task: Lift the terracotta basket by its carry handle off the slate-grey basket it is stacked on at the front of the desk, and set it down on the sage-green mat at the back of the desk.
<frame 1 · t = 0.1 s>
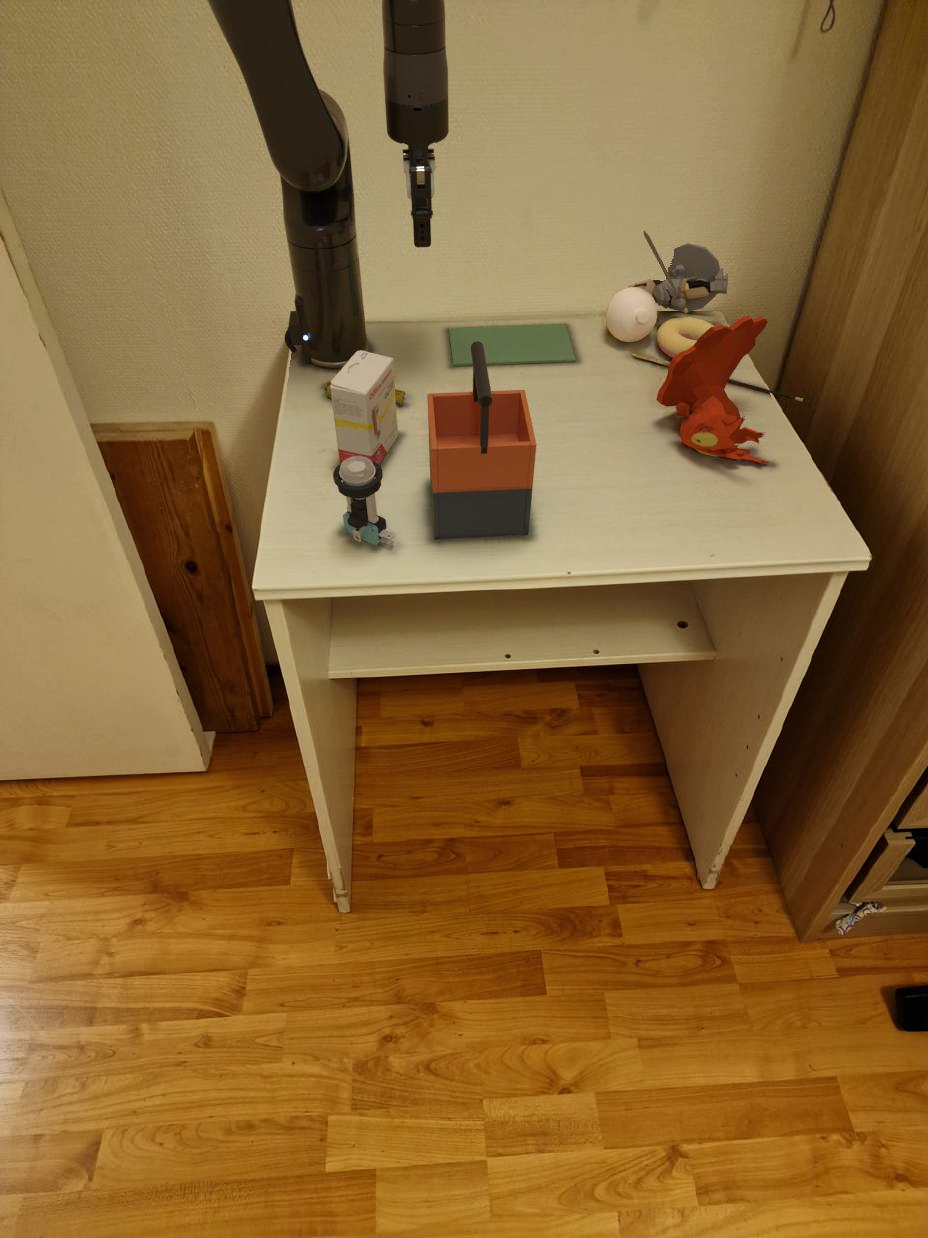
hand: (421, 231, 107), 17 cm above the table, tool pointing down, fingers open, 8 cm apart
mat: (510, 345, 120), on the table
toy: (705, 360, 104), point 8 cm above the table
key: (363, 398, 111), on the table
donut: (666, 353, 117), point 1 cm above the table, touching toy 2
ink box: (370, 452, 104), on the table
push button: (369, 537, 93), on the table
spinning top: (613, 311, 125), point 1 cm above the table
toy 2: (722, 261, 115), point 11 cm above the table, touching donut
bottom basket: (477, 508, 96), on the table, touching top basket
brush: (630, 353, 118), on the table
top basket: (479, 462, 91), point 7 cm above the table, touching bottom basket
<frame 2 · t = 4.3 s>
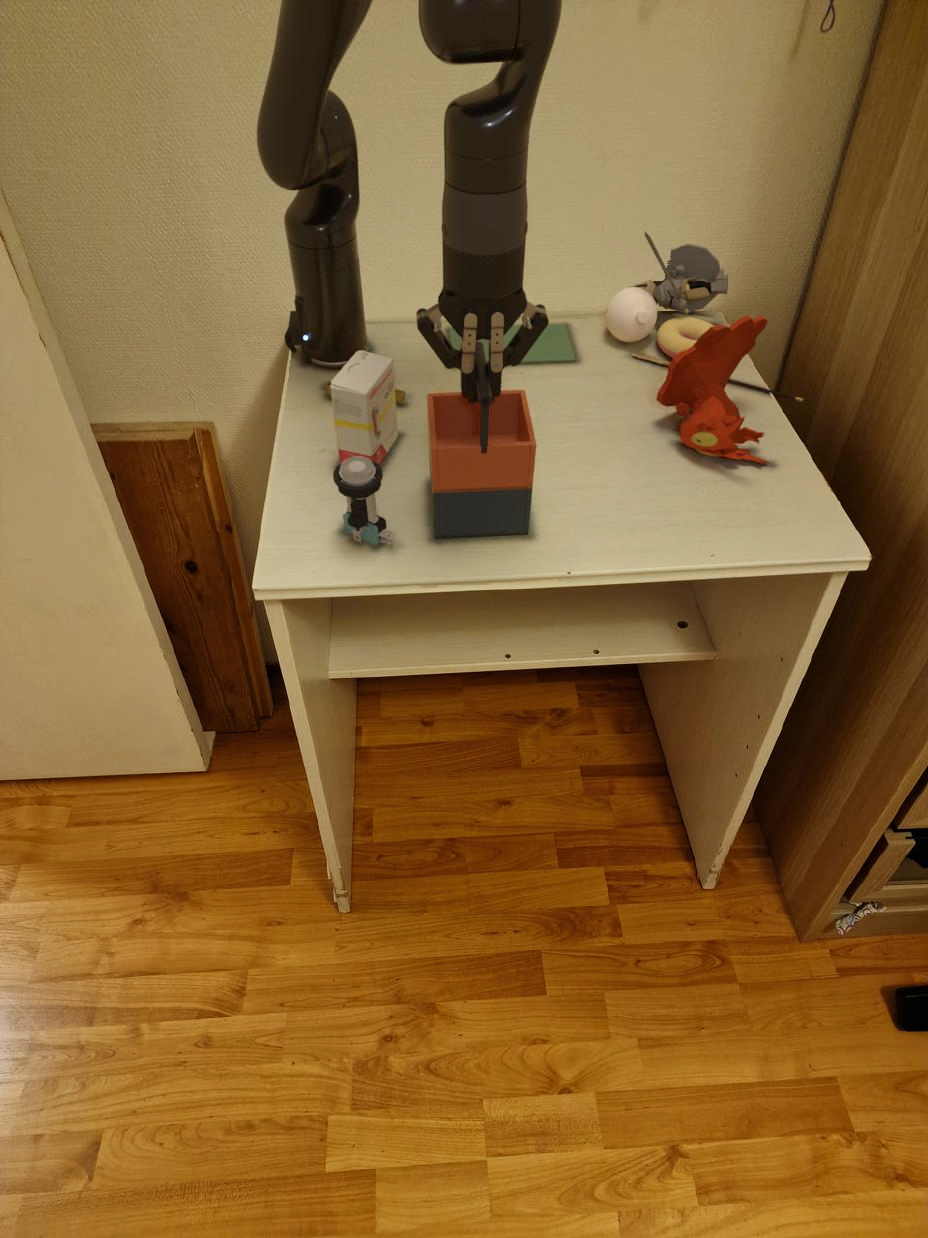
hand: (480, 397, 85), 16 cm above the table, tool pointing down, fingers closed on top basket
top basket: (478, 462, 91), point 7 cm above the table, touching bottom basket, gripper
everything else where it was.
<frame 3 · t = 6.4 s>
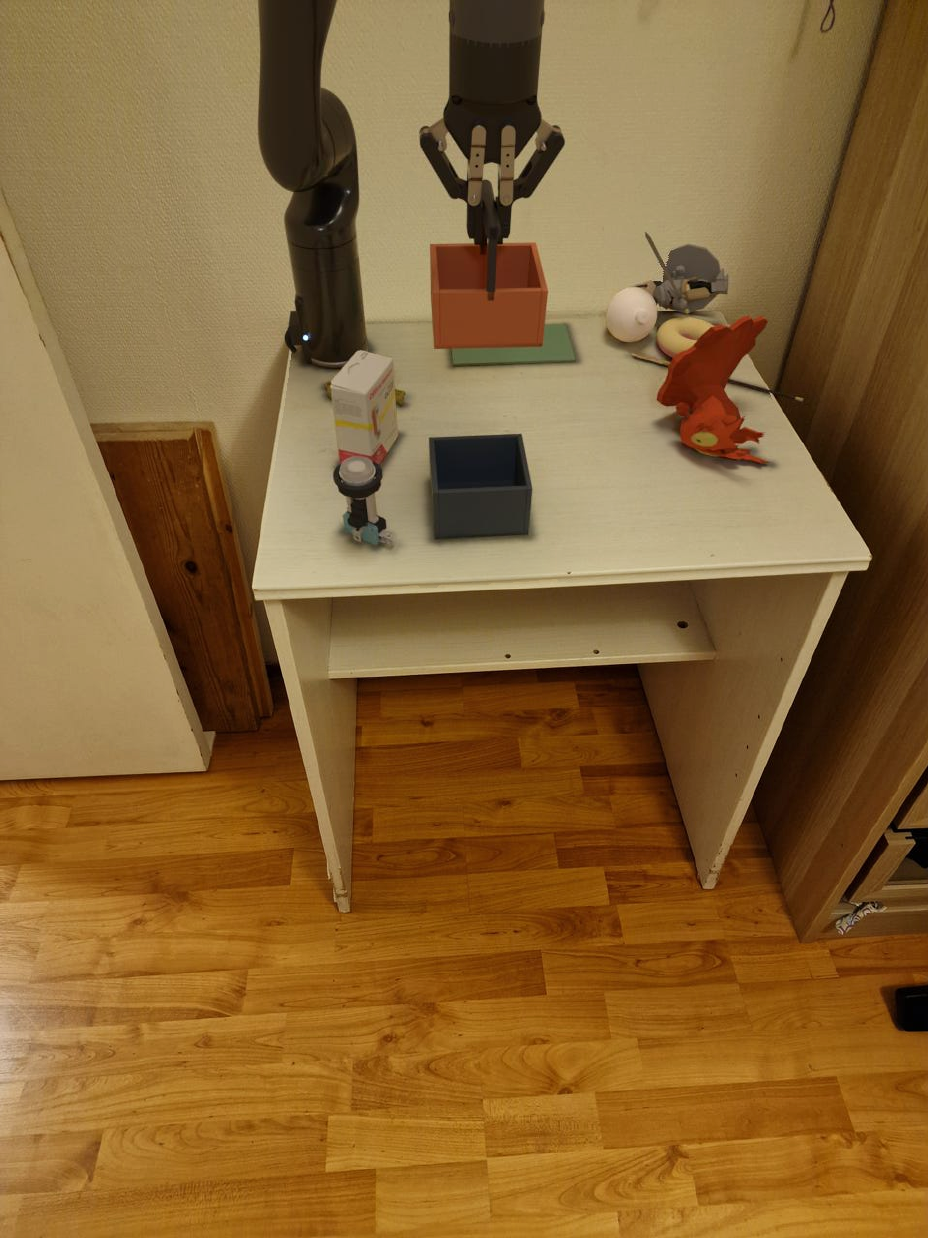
hand: (487, 240, 78), 30 cm above the table, tool pointing down, fingers closed on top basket
bottom basket: (477, 508, 96), on the table
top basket: (484, 322, 84), point 21 cm above the table, touching gripper
everything else where it was.
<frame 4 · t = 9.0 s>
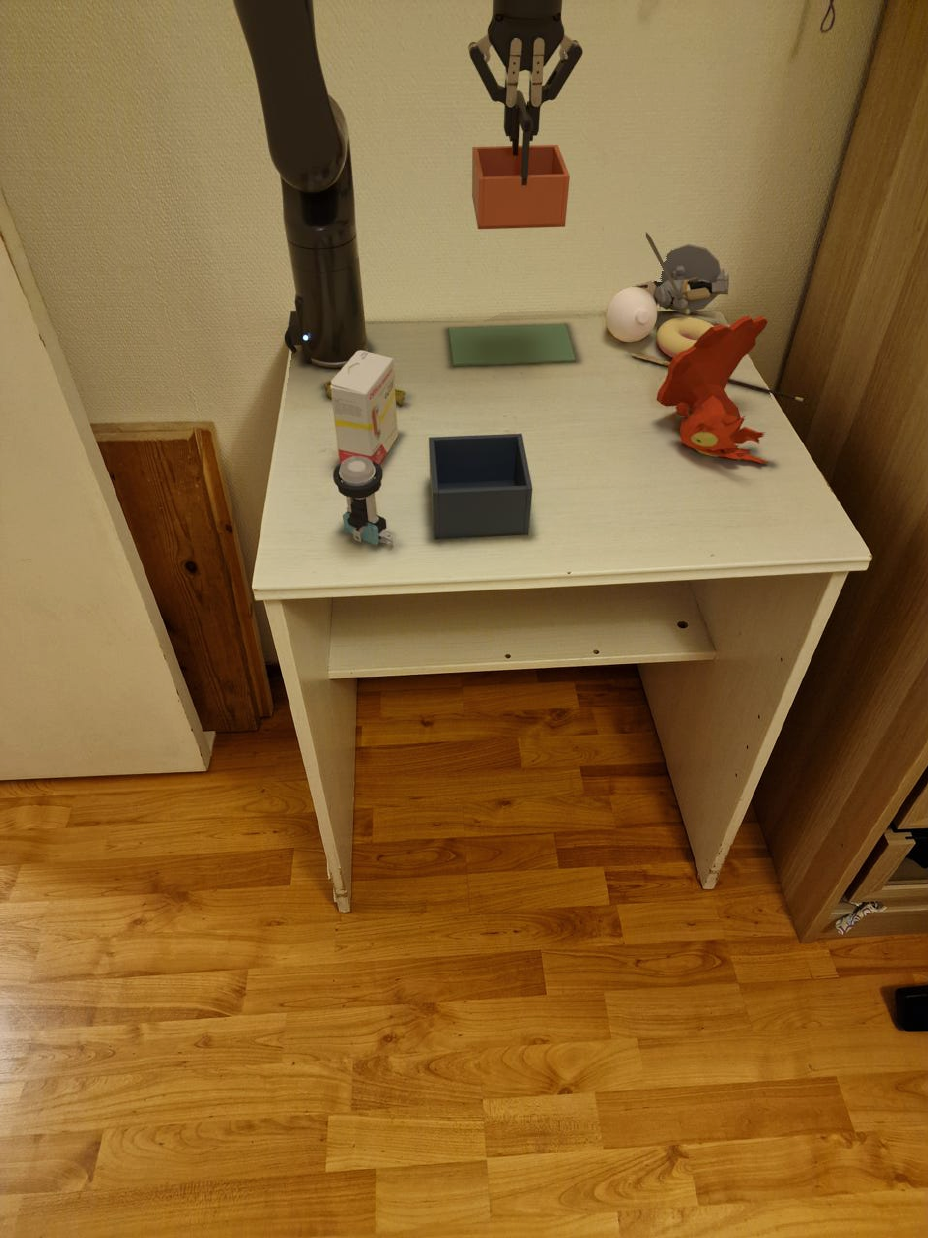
hand: (520, 138, 97), 29 cm above the table, tool pointing down, fingers closed on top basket
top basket: (517, 210, 104), point 20 cm above the table, touching gripper
everything else where it was.
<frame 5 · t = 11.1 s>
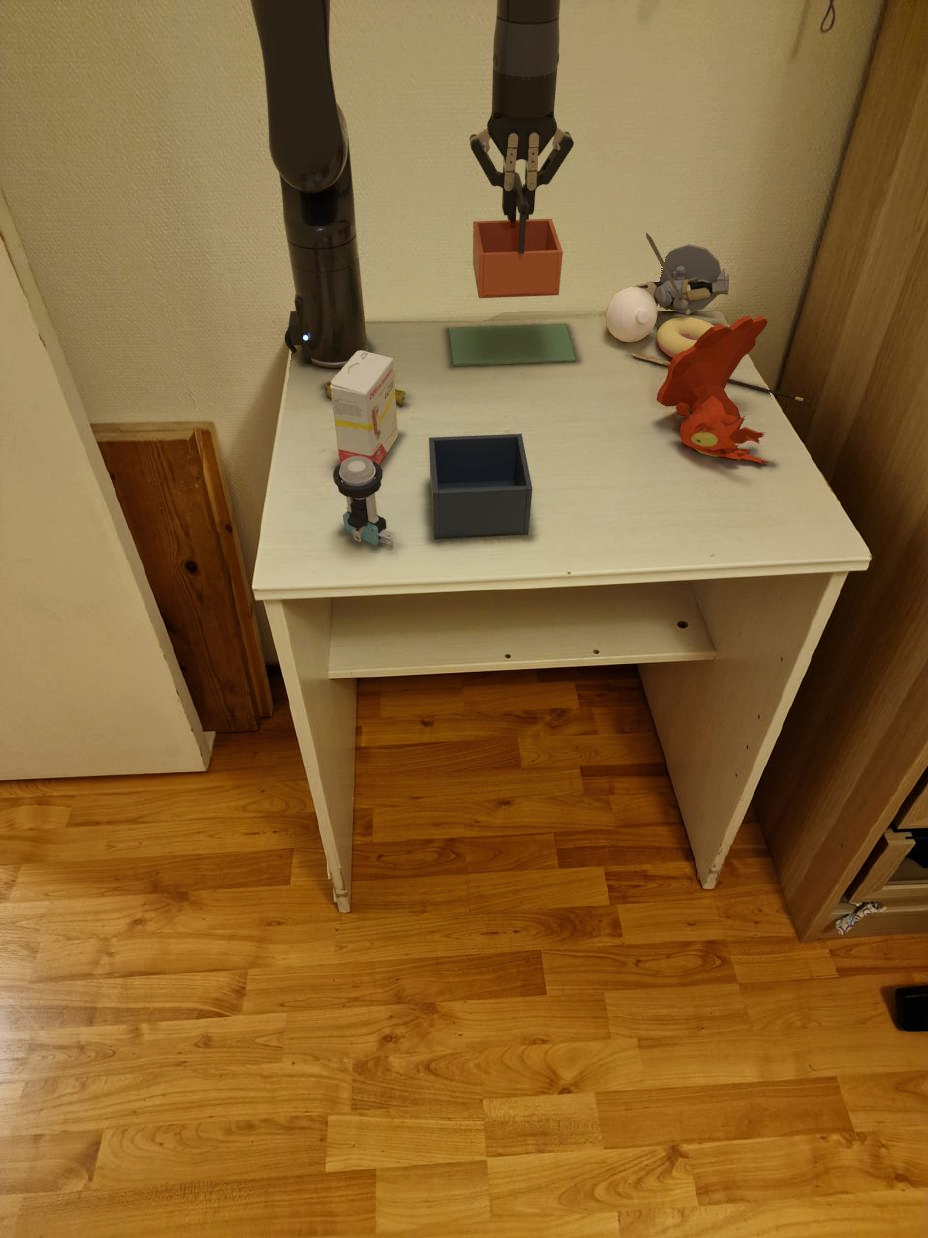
hand: (517, 216, 106), 19 cm above the table, tool pointing down, fingers closed on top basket
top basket: (514, 279, 112), point 10 cm above the table, touching gripper
everything else where it was.
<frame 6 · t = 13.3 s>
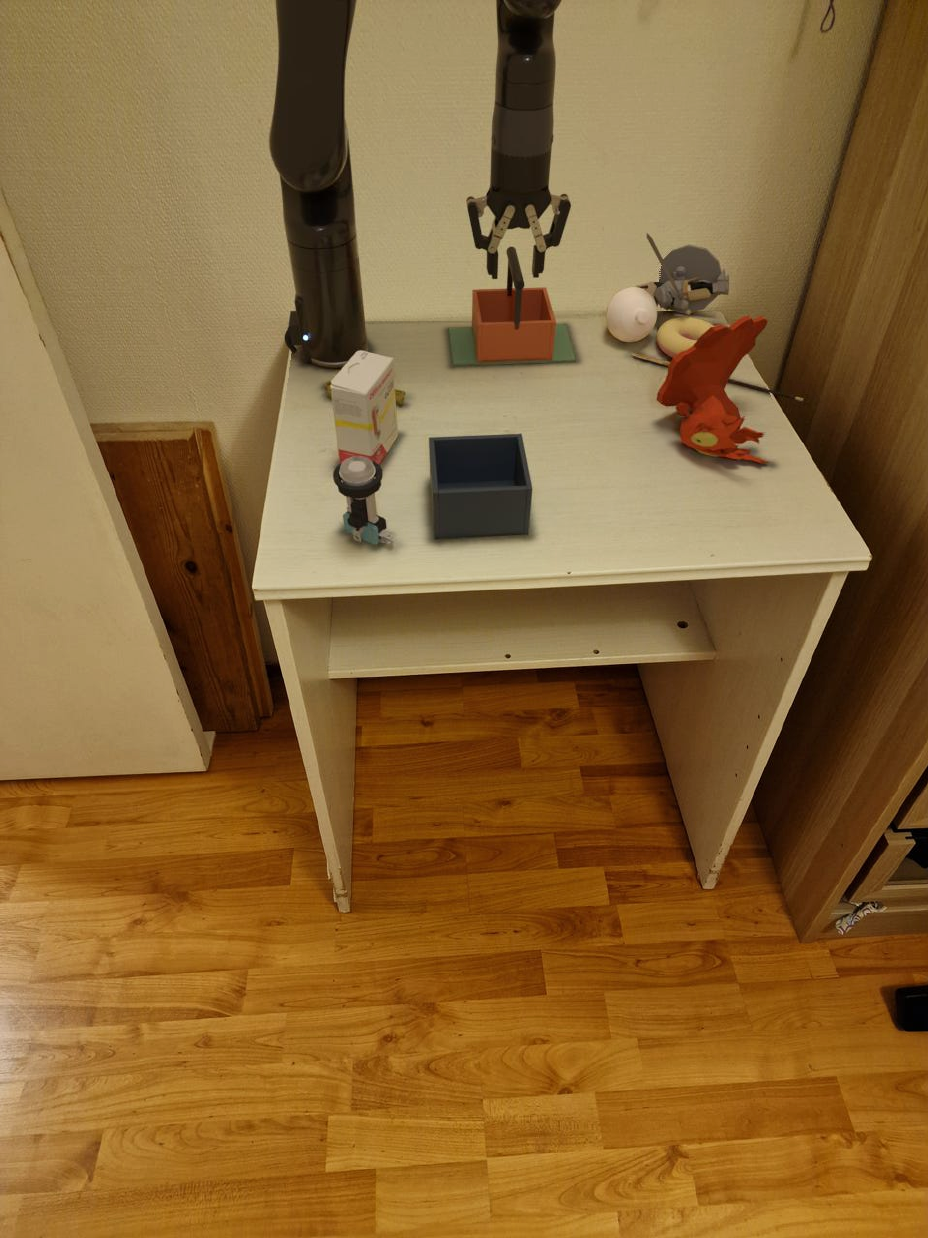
hand: (514, 275, 112), 11 cm above the table, tool pointing down, fingers open, 5 cm apart
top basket: (511, 343, 120), resting on mat
everything else where it was.
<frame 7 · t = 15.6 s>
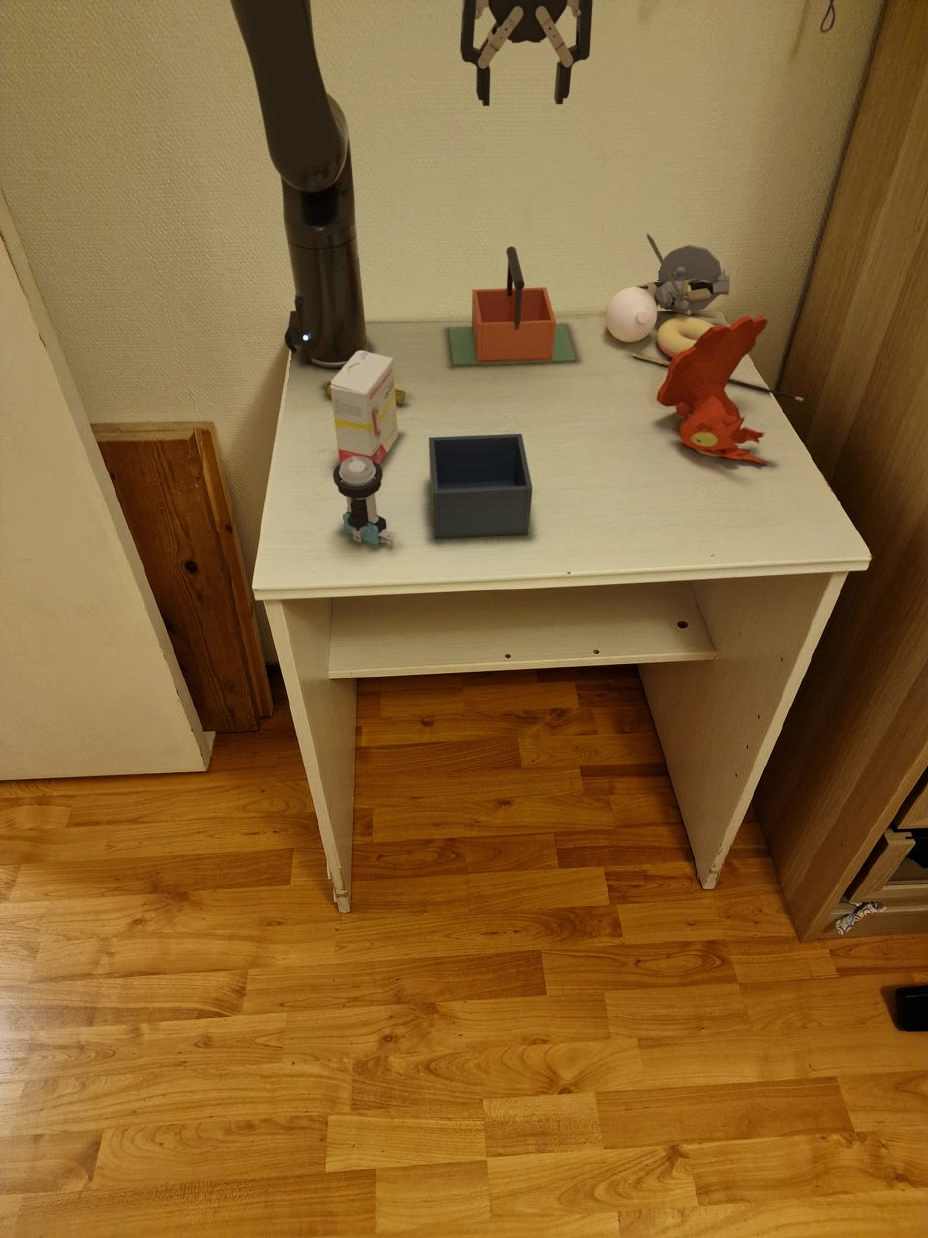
hand: (521, 102, 93), 33 cm above the table, tool pointing down, fingers open, 8 cm apart
nothing on the table moved.
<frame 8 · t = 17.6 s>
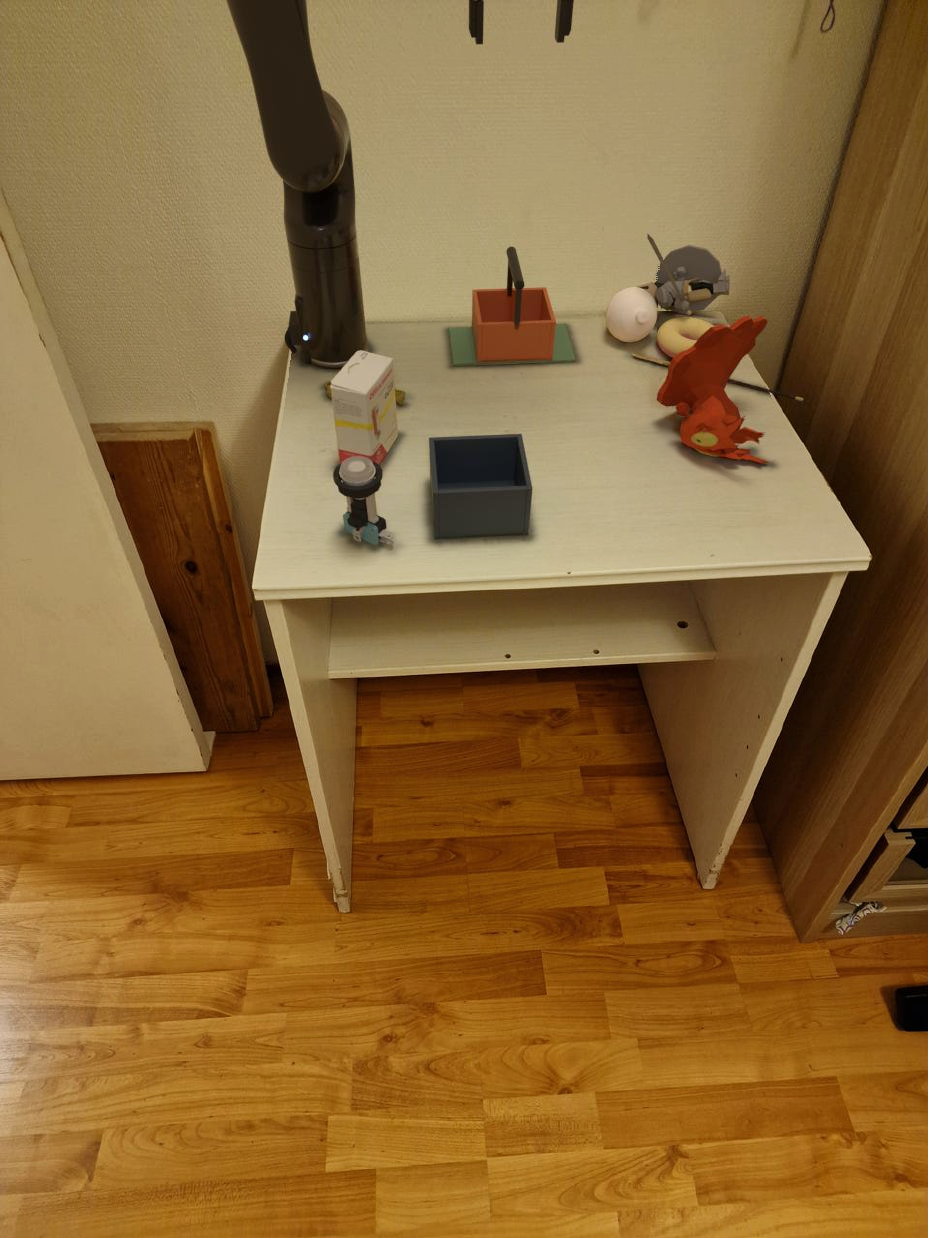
hand: (518, 41, 84), 40 cm above the table, tool pointing down, fingers open, 8 cm apart
nothing on the table moved.
at the end: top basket inside the target area on the mat (0.0 cm from its centre), point 0.4 cm above the mat's base; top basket tilted 0°; bottom basket moved 0.0 cm from its start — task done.
